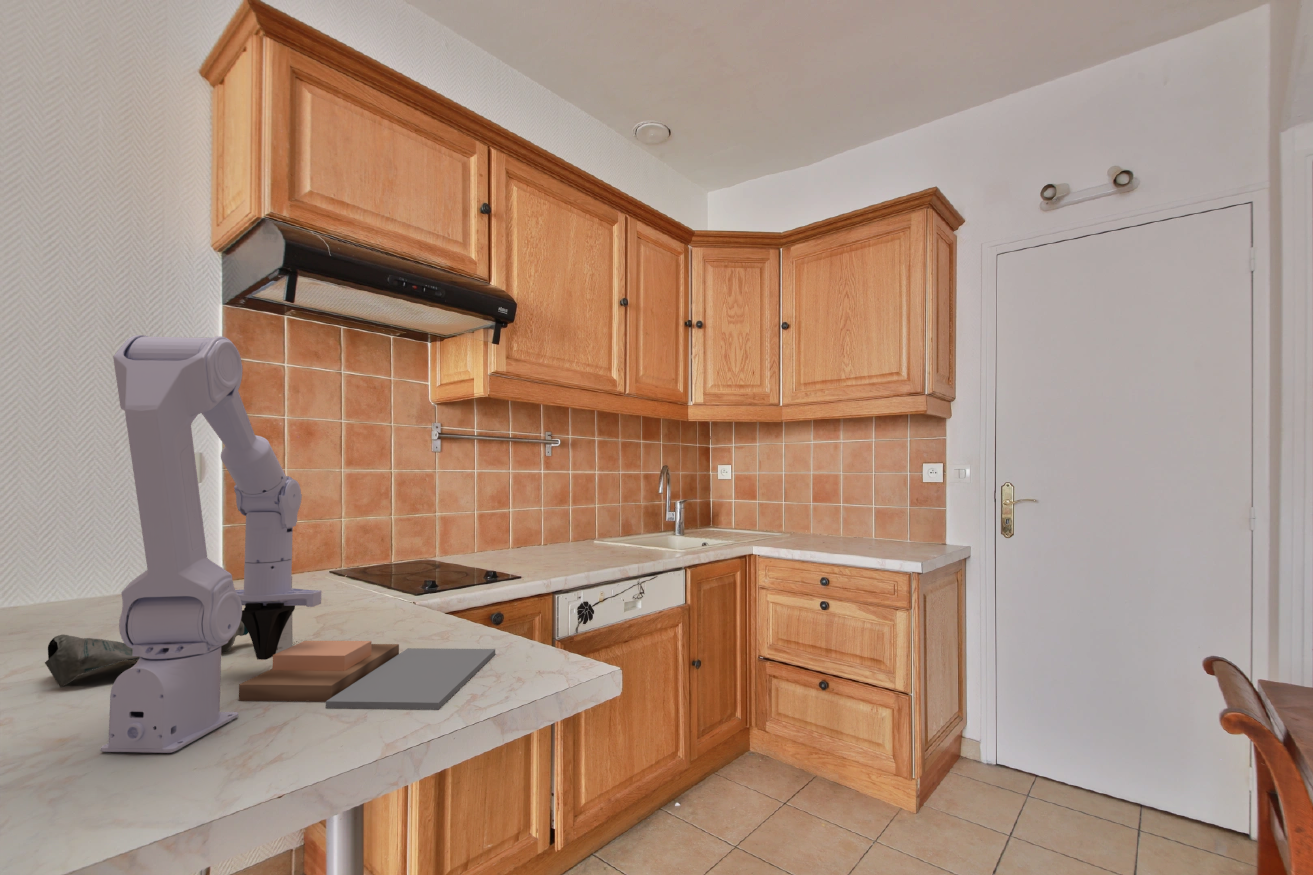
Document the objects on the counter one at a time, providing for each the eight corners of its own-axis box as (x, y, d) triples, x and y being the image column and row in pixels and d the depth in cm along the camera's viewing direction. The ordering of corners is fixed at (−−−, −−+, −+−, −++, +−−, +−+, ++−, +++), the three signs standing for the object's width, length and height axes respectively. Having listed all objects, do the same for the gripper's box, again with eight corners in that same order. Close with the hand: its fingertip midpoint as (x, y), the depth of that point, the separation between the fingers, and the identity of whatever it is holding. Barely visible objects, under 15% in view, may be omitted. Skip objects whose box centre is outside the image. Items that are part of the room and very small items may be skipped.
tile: (344, 670, 82) (344, 655, 82) (272, 670, 82) (272, 655, 83) (371, 654, 89) (371, 640, 89) (304, 654, 89) (305, 640, 90)
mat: (438, 709, 74) (438, 702, 74) (325, 707, 74) (325, 701, 74) (495, 654, 96) (495, 648, 96) (407, 653, 96) (407, 648, 96)
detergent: (47, 698, 78) (269, 649, 97) (47, 641, 79) (267, 604, 98) (38, 684, 87) (243, 642, 106) (38, 632, 87) (242, 600, 106)
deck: (331, 701, 76) (331, 685, 76) (238, 700, 77) (239, 684, 77) (398, 657, 94) (398, 644, 94) (323, 656, 95) (323, 643, 95)
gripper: (334, 556, 90) (332, 649, 90) (239, 556, 91) (237, 648, 90) (304, 563, 83) (302, 664, 83) (202, 563, 84) (199, 663, 83)
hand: (266, 657), depth 86 cm, fingers closed
